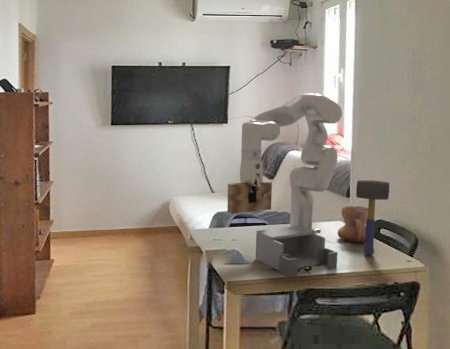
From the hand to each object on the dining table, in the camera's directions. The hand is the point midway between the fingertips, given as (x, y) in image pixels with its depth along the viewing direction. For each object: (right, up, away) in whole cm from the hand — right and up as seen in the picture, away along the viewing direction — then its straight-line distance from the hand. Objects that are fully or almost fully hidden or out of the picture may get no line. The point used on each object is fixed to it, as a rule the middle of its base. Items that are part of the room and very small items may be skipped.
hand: (249, 201), depth 219 cm
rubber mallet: (+47, -22, +5) cm, 52 cm away
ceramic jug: (+46, -19, +26) cm, 57 cm away
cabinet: (+16, -23, -8) cm, 29 cm away
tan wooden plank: (0, -4, +1) cm, 4 cm away
